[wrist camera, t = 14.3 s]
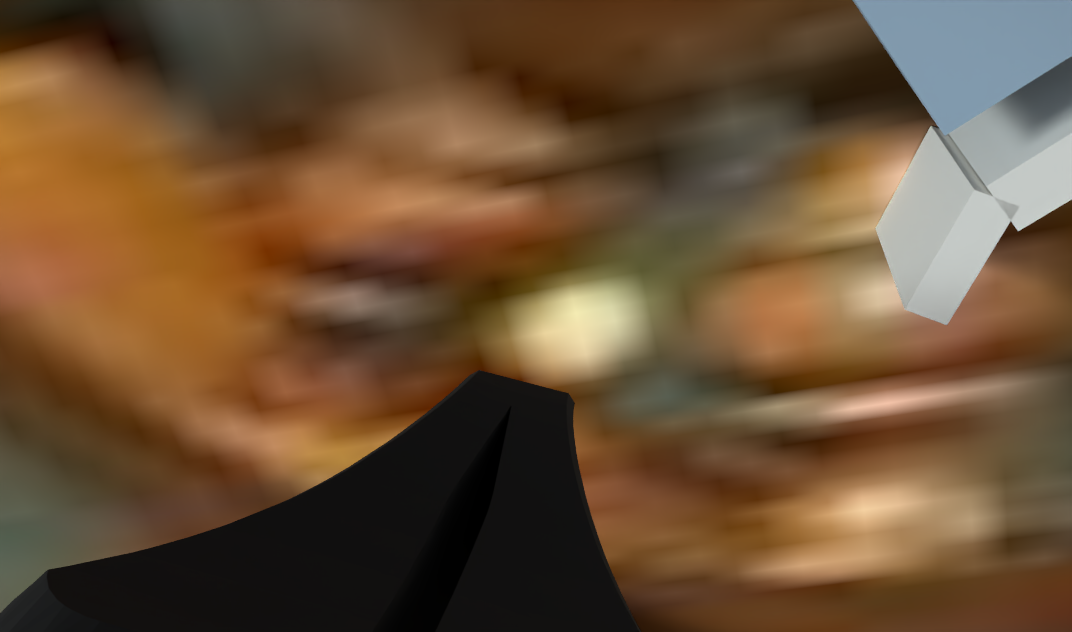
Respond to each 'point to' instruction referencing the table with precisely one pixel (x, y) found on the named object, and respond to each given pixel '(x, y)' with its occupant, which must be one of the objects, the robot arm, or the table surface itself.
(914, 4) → the plug
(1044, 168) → the port
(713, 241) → the table surface
